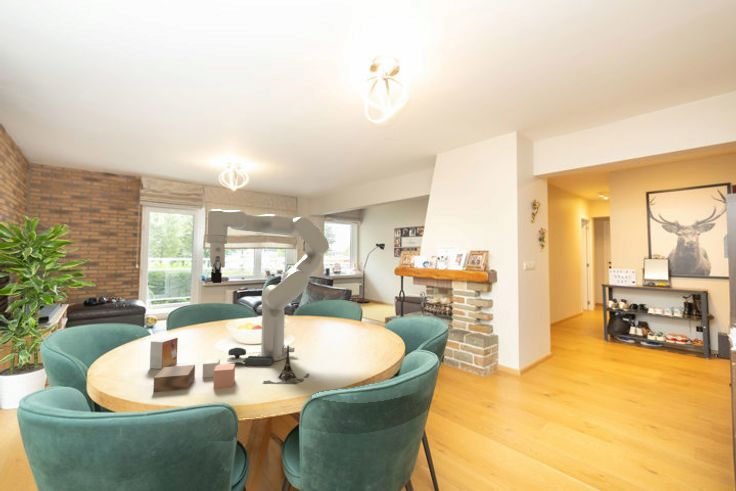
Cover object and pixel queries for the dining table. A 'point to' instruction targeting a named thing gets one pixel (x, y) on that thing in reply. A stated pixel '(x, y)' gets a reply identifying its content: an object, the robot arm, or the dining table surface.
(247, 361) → the can opener
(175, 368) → the walnut base block
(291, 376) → the eiffel tower figurine
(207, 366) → the pale grey cube
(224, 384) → the terracotta cube
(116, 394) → the dining table surface
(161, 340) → the small box
